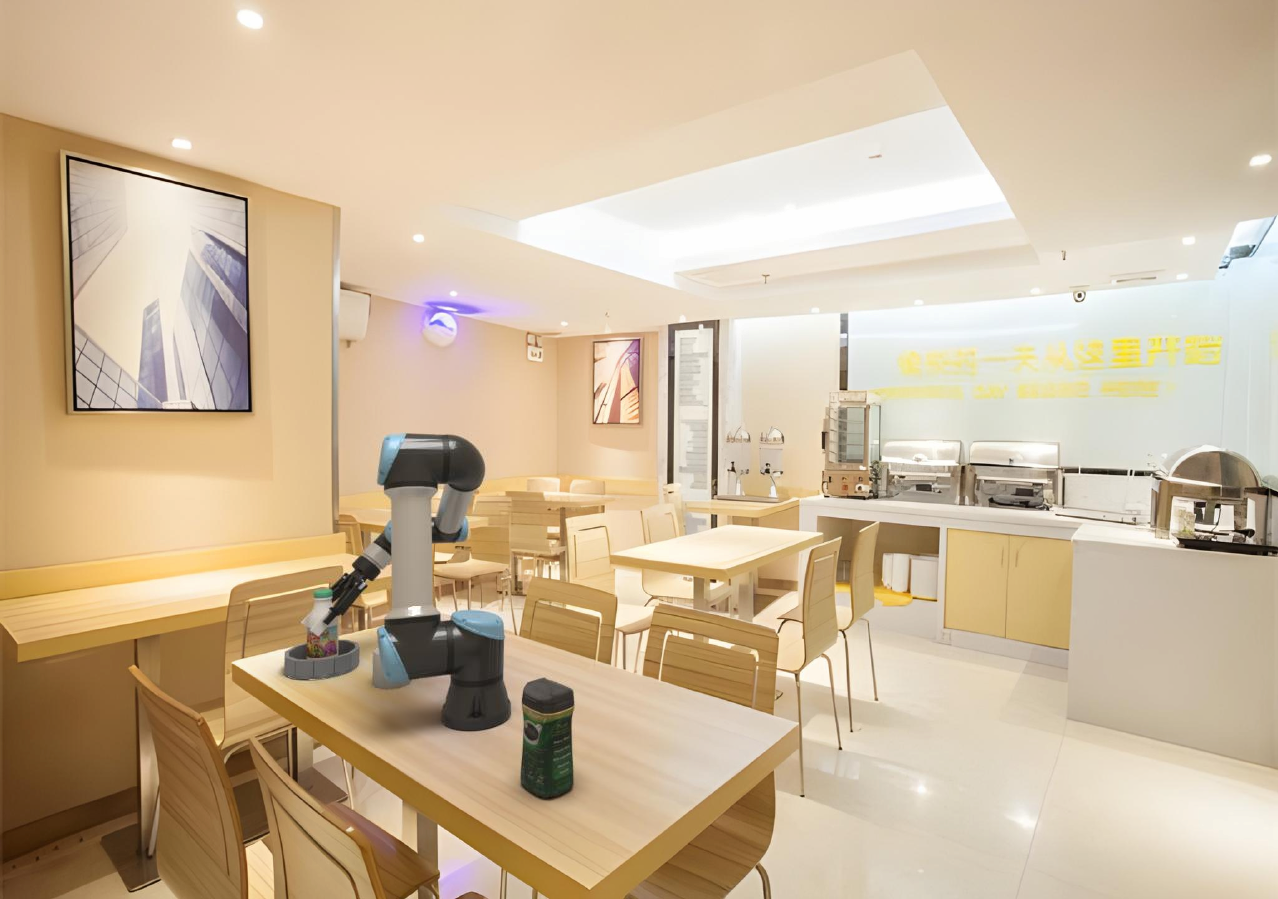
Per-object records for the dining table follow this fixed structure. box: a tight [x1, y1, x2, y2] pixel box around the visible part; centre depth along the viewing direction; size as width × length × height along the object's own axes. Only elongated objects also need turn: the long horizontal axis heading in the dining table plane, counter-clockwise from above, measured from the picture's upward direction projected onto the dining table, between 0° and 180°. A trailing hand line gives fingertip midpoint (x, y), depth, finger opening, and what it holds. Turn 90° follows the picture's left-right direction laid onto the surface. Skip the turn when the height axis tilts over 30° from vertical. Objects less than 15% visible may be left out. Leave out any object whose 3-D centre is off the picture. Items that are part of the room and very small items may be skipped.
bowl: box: [283, 639, 360, 680], centre depth 173 cm, size 18×18×5 cm
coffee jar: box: [520, 677, 576, 798], centre depth 116 cm, size 10×8×19 cm
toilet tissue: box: [372, 646, 413, 691], centre depth 165 cm, size 9×13×9 cm
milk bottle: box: [306, 588, 340, 660], centre depth 173 cm, size 8×8×20 cm
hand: (309, 629), depth 171 cm, fingers open, 8 cm apart
